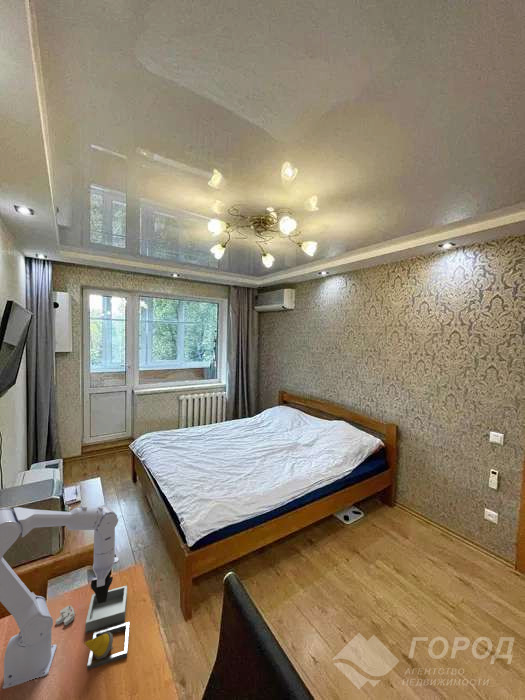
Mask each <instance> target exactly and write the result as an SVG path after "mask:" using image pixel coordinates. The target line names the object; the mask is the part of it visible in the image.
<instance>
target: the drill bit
mask: <svg viewBox="0 0 525 700" xmlns="http://www.w3.org/2000/svg"><path fill="white" fill-rule="evenodd" d="M113 642H114V636H113V634H112V633H110V632H105V633H103V634H102V635H101V636H99V637H96V638H94V639H93V638H91V639H88V640H87V641H85V642H84V645H85V646H86V647H87V648H88V649H89V651H90V650H91V651H92V652H93V653H94V654H93V657H94V658H95V660H98V659H101V658H104V657H107V656H108V654H109V653H110V651H111V650H113V649H114V648H113V647H114V646H113Z"/></svg>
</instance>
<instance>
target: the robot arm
mask: <svg viewBox="0 0 525 700" xmlns="http://www.w3.org/2000/svg"><path fill="white" fill-rule="evenodd" d="M118 523H119V518H118V515H117V513H115V511H113V509H112V508H111V507H110V506H108V505H105V504H102V505H100V506H97V507H87V505H85V504H84V505H83V504H82V505H81V506H80V507H75V508H73V509H71V510H70V511H61V510H60V511H59V510H45V509H34V508H27V507H19V506H17V507H13V509H12V508H10V507H0V603H1V605H3V606H4V607H5V609H6V610H7V611H8V612H9V613H10V615H11V616H12V617H13V618H14V620H15V623H16V625H17V626H18V629H19V632H18V634H15V635H13V636H12V637H10V639H9V641H8V643H7V646H6V648H5V649H6V650H5V653H4V658H3V684H2V689H3V690H5V689H8V688H11V687H15V686H17V685H21V684H24V682H25V683H28V682H30V681H29V680H31V681H33V680H32V679H34V680H36V679H35V678H37V679H39V677H40V678H42V677H45V676H47V675H48V674H49V672H50V669H51V665H52V662H53V659H54V657H55V653H56V650H57V646H58V645H57V644H55V643H54V644H52V634H53V633H52V631H53V629H52V628H53V624H54V619H53V617H52V616H51V614H50V611H49V608H48V605H47V600H46V598H45V597H44V596H41V595H36V594H35V592H34V591H32V592H31V591H30V589H29V588H28V587H27V585H26V584H25V583H24V582H23V581H22V580H21V578H20V577H19V576H18V575H17V573H16V572H15V571H14V569H13V568H12V567H11V566H10V564H9V563H8V562H7V561H6V559H5V558H4V555H5V554H6V552H7V551H8V550H9V549H10V548H11V547H12V545H13V544H14V543H15V542H16V541H17V540H18V538H19V537H21V538H24V537H25V536H27V535H28V534H29V533H30V532H32V530H33V529H35V528H48V527H64V526H66V529H67V530H68V531H93V530H94V531H93V564H92V570H93V572H94V575H95V576H94V577H95V578H96V579H92V580H91V582H90V589H91V590H92V592H93V593H94V594H95V595H96V598H97V602H98V604H99V603H103V602H106V599H107V595H108V590H110V587H111V585H112V582H113V581H114V580H113V579H114V578H113V576H111V575H112V569H113V567H114V566H115V565H116V564H118V563H119V559H120V558H119V556H117V555H116V554H115V553H116V552H115V550H116V549H115V548H116V547H115V546H116V543H115V542H116V538H115V537H116V536H115V535H116V531H115V528H116V526H118ZM116 556H117V557H116ZM27 681H28V682H27Z"/></svg>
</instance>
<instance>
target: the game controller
mask: <svg viewBox="0 0 525 700" xmlns="http://www.w3.org/2000/svg"><path fill="white" fill-rule="evenodd" d="M88 605H89V606H90V603H88V604H87V605H86V604H82V605H80V606H79V608H81V607H83V606H88ZM75 611H77V609H74V607H73V605H67V606H65V607H64V608H62V609H60V611H59V613H60V616H59V617H58V618H56V619H55V624H56V625H60V624H62V623H64V626H68V625H69V624H70V623H71V622H72V621H73V620H75V617H76V613H75Z"/></svg>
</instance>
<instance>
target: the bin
mask: <svg viewBox="0 0 525 700" xmlns="http://www.w3.org/2000/svg"><path fill="white" fill-rule="evenodd" d="M127 600H128V585H127V584H126V585H124V586H120V587H115V588H112V589H109V590H108V595H107V599H106V602H103V603H99V604H98V602H97V598H96V595H95V593H93V594H92V595H91V598H90V603H89V607H88V610H87V616H86V620H85V631H84V632H85V634H90V633H92V632H93V633H94V632H97V631H100V630H104V629H107V628H110V627H114V626H117V625H120V624H123V623H126V621H125V620H126V613H127Z"/></svg>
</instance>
